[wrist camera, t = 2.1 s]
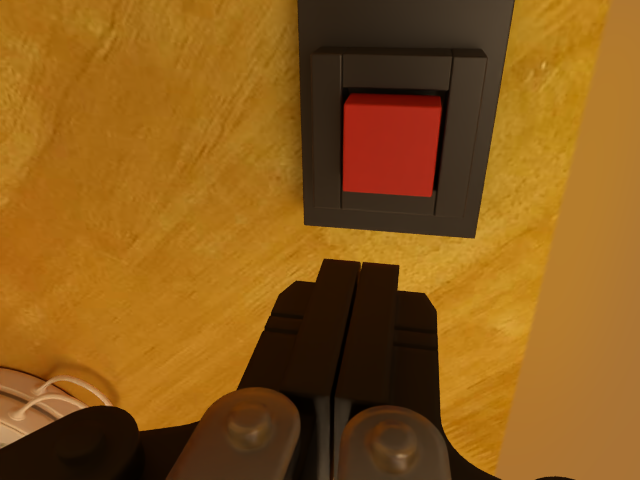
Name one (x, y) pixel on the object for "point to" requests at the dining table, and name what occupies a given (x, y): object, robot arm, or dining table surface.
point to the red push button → (406, 79)
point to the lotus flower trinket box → (35, 403)
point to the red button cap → (390, 143)
